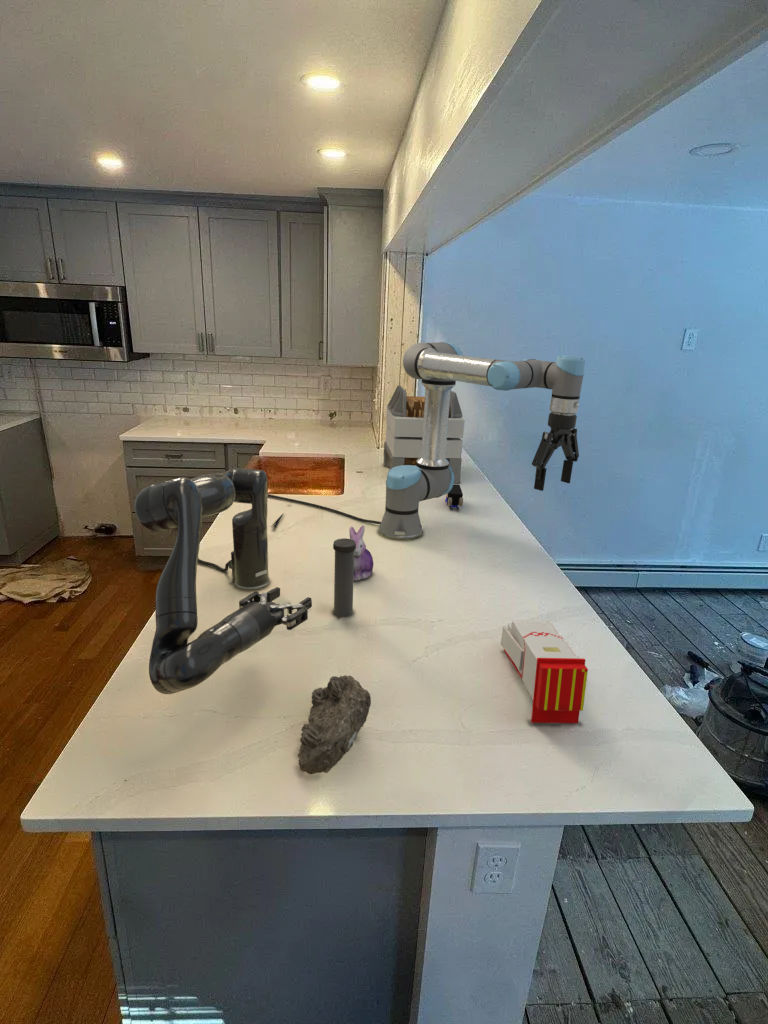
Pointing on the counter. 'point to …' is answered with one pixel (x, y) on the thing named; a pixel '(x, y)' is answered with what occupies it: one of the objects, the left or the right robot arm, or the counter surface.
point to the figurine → (361, 555)
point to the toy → (547, 670)
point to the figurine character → (454, 497)
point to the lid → (344, 545)
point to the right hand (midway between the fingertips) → (552, 485)
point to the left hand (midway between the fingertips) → (294, 596)
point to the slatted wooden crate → (419, 431)
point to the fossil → (333, 723)
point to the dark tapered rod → (277, 521)
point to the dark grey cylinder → (343, 584)
